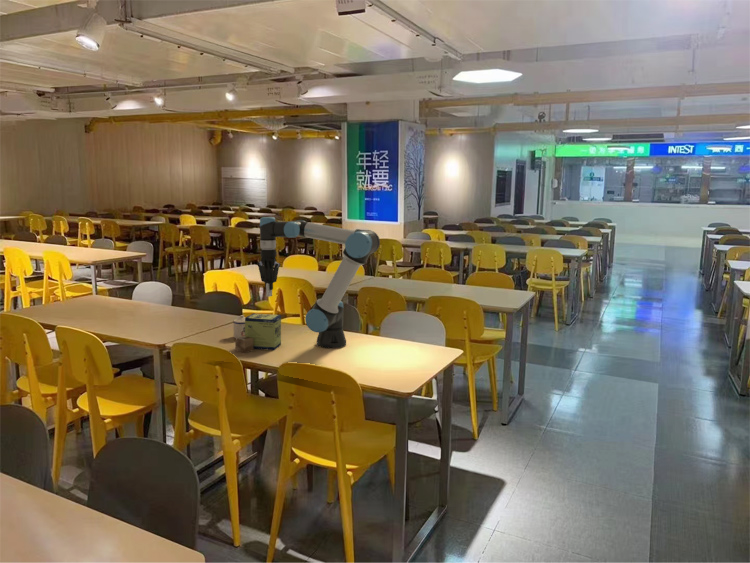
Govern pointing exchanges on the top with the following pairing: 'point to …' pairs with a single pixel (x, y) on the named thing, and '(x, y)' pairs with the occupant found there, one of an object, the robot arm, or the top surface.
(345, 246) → the robot arm
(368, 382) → the top surface
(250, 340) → the numbered walnut block
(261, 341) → the protein box
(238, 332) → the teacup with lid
